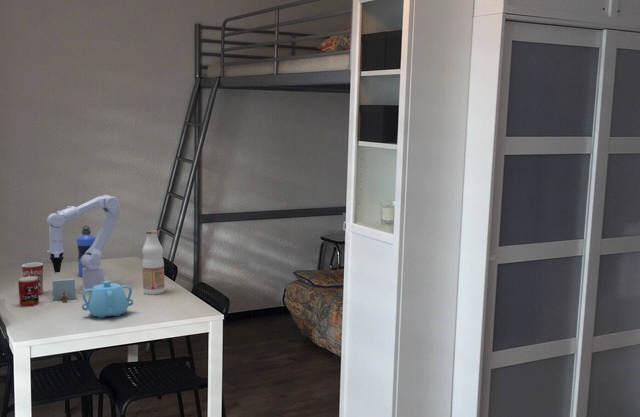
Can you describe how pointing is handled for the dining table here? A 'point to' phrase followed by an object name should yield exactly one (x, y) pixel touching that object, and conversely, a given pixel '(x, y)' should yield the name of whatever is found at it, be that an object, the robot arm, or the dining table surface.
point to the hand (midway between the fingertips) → (57, 270)
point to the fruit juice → (153, 265)
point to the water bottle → (84, 245)
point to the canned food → (28, 291)
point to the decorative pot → (107, 299)
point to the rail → (64, 297)
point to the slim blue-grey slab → (63, 288)
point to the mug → (34, 273)
